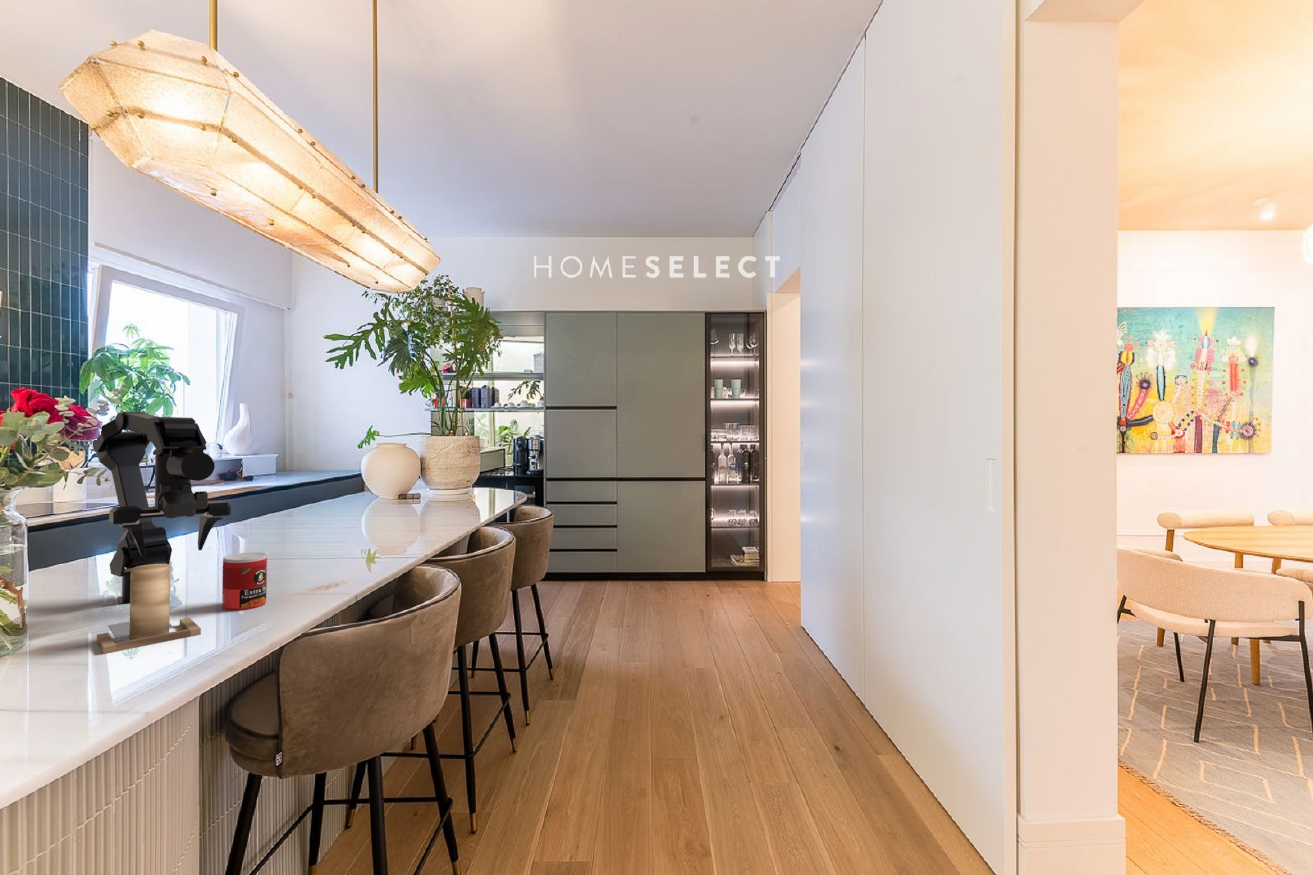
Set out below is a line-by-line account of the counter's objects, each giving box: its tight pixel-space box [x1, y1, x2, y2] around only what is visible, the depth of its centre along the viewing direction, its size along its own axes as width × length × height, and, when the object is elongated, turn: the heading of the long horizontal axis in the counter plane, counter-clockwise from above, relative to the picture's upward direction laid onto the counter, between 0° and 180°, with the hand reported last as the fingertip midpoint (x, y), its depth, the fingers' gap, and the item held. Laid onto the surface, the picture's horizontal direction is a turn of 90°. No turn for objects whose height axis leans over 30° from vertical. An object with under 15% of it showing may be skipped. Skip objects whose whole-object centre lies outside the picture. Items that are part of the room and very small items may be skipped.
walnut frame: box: [96, 617, 202, 655], centre depth 105 cm, size 9×13×2 cm, turn 140°
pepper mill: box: [128, 563, 171, 641], centre depth 105 cm, size 5×5×13 cm
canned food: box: [221, 551, 268, 612], centre depth 124 cm, size 8×8×11 cm
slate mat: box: [108, 621, 175, 639], centre depth 110 cm, size 10×8×1 cm
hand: (172, 553), depth 120 cm, fingers open, 9 cm apart
